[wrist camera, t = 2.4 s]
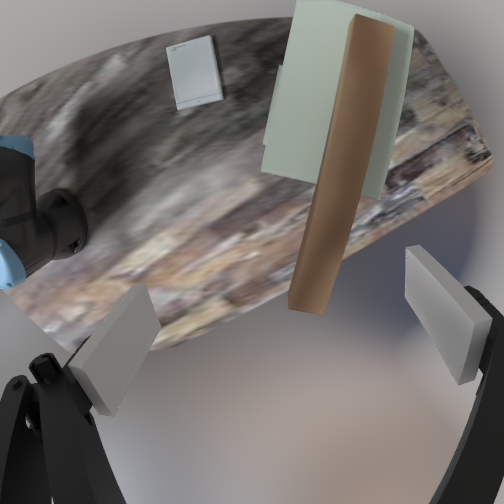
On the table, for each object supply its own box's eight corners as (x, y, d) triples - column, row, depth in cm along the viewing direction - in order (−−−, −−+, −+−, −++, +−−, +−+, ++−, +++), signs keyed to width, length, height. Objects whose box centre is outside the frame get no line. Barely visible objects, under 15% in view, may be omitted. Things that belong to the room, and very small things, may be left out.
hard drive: (165, 47, 44) (176, 110, 48) (210, 34, 43) (222, 98, 47) (168, 49, 46) (179, 110, 50) (212, 37, 44) (224, 100, 49)
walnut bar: (287, 294, 28) (288, 308, 25) (349, 23, 19) (355, 13, 16) (319, 300, 28) (323, 315, 25) (384, 34, 19) (393, 26, 16)
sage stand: (261, 149, 51) (241, 167, 24) (280, 61, 45) (280, -12, 18) (336, 167, 51) (395, 205, 24) (355, 80, 45) (429, 34, 18)
